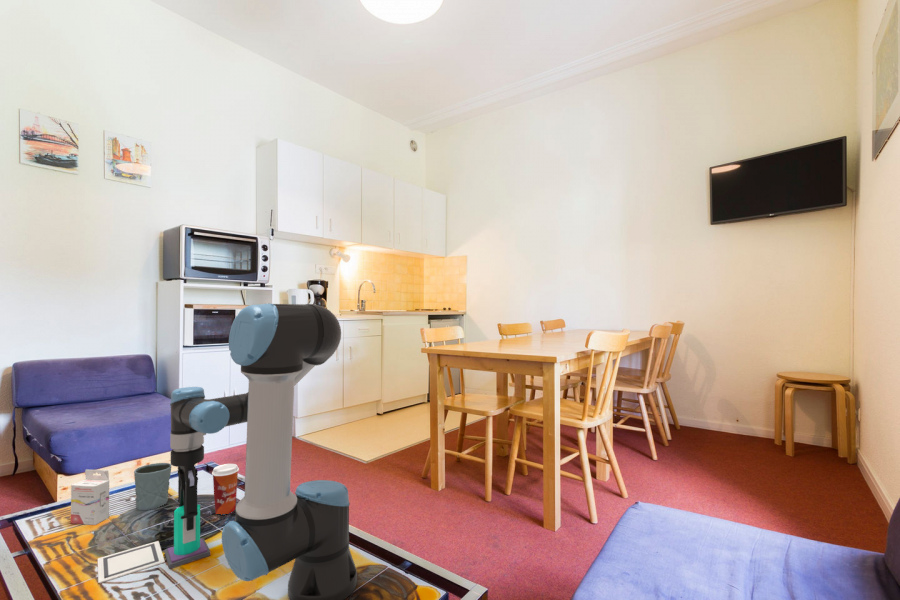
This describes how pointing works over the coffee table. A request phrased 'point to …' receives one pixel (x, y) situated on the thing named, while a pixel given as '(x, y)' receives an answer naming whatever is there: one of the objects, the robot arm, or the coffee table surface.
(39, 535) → the coffee table surface
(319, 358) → the robot arm
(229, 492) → the paper cup
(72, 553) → the coffee table surface
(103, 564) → the marked card
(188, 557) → the ink pad
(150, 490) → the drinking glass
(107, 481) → the ink cartridge box
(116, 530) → the coffee table surface
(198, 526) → the candle
